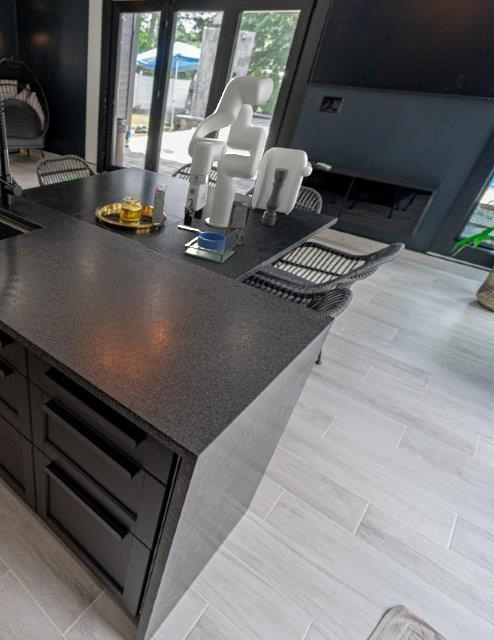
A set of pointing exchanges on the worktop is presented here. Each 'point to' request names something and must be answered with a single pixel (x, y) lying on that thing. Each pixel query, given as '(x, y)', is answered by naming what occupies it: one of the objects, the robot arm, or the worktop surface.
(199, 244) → the pan
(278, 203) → the candle holder
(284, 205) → the toaster
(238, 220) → the coffee box
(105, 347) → the worktop surface
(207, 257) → the dish rack
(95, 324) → the worktop surface
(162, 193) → the candy bar box
